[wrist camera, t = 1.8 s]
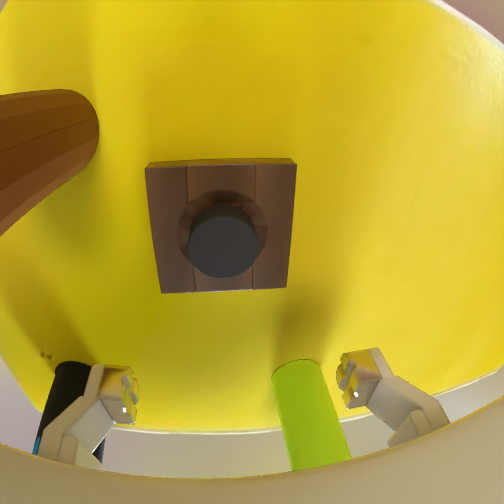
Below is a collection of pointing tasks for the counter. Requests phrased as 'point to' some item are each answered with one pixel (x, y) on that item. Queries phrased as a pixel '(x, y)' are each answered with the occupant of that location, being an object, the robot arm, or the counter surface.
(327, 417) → the soap dispenser
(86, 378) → the aerosol can
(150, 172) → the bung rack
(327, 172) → the counter surface
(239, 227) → the cylinder
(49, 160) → the bottle
